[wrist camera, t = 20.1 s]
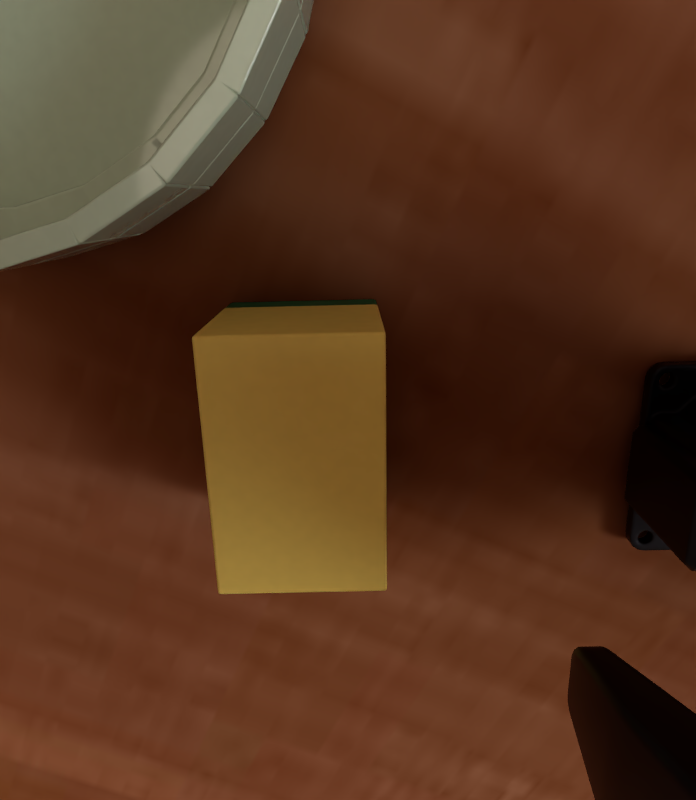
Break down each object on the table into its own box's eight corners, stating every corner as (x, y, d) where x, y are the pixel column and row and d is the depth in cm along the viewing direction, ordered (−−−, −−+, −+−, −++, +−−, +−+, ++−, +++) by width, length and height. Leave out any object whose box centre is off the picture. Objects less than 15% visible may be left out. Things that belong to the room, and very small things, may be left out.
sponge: (376, 298, 19) (385, 332, 14) (378, 503, 21) (386, 591, 16) (230, 302, 19) (190, 336, 14) (246, 506, 21) (217, 595, 16)
